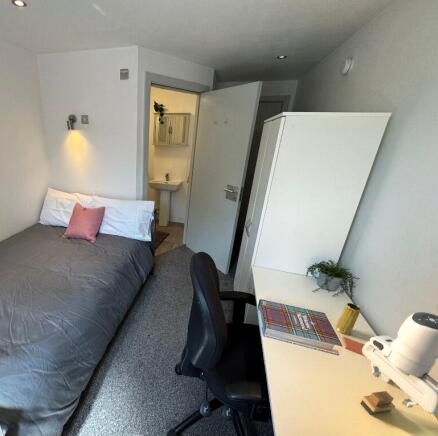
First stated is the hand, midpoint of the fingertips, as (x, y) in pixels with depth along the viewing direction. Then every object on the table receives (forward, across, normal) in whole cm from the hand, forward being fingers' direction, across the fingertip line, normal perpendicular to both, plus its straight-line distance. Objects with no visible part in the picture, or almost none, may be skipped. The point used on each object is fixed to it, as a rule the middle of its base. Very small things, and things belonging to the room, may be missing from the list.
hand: (390, 389), depth 75 cm
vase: (+10, +32, -19) cm, 38 cm away
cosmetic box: (+10, +10, -15) cm, 21 cm away
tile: (+10, +22, -15) cm, 29 cm away
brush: (+10, 0, +1) cm, 10 cm away
